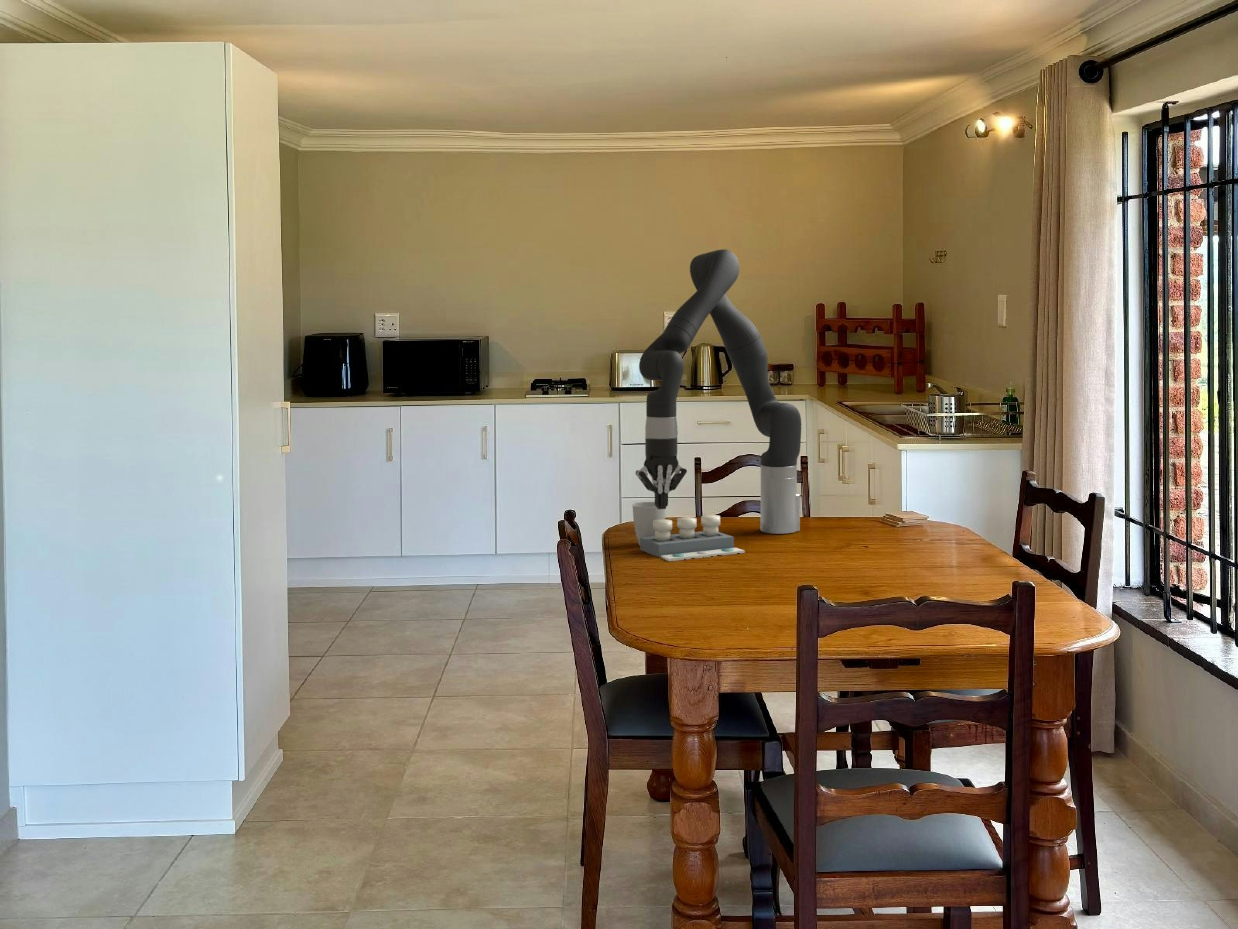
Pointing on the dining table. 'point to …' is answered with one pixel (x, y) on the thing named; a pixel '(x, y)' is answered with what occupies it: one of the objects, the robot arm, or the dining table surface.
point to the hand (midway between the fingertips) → (661, 508)
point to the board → (685, 544)
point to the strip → (702, 554)
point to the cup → (646, 518)
